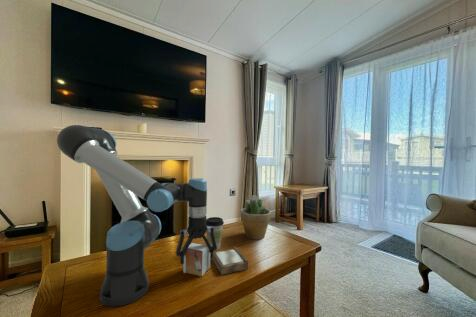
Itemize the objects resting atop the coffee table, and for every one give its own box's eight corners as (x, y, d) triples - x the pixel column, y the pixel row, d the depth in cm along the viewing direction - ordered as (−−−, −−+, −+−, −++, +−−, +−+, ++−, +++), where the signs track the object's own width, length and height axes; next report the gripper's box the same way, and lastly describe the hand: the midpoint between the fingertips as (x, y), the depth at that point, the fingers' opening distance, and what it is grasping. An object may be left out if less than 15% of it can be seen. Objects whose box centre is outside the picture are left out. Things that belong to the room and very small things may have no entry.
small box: (184, 273, 86) (184, 247, 86) (191, 266, 91) (191, 242, 91) (202, 276, 83) (202, 250, 83) (208, 269, 89) (208, 245, 89)
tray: (221, 274, 85) (221, 265, 85) (212, 258, 98) (212, 250, 98) (247, 269, 90) (248, 260, 90) (235, 254, 103) (236, 246, 103)
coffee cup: (220, 253, 104) (220, 223, 104) (201, 250, 106) (202, 221, 106) (225, 244, 114) (225, 217, 113) (208, 243, 116) (208, 216, 115)
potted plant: (237, 231, 134) (238, 192, 134) (265, 229, 138) (265, 192, 137) (243, 243, 116) (244, 198, 116) (275, 241, 120) (275, 198, 119)
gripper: (170, 221, 79) (169, 279, 80) (225, 215, 88) (224, 268, 88) (168, 215, 86) (168, 269, 86) (220, 211, 95) (219, 259, 95)
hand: (196, 268), depth 87 cm, fingers closed on small box, 9 cm apart
